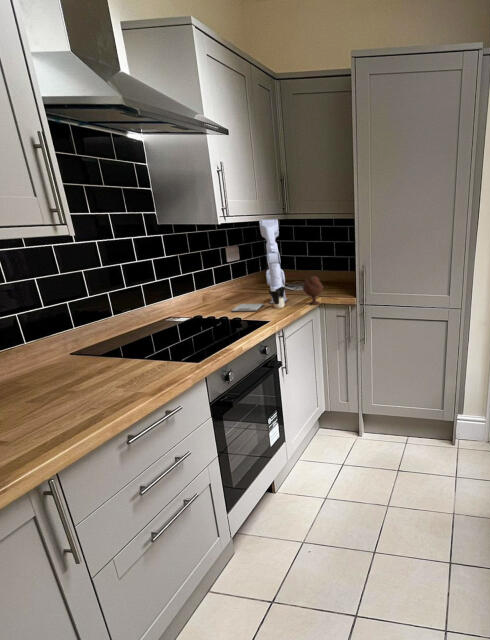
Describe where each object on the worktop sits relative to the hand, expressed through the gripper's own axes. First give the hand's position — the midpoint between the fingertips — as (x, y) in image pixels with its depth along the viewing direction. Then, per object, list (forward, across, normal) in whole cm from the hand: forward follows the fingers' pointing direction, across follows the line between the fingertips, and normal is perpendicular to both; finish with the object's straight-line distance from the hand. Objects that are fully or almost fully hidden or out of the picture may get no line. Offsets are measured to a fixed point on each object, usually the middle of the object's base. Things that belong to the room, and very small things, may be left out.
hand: (278, 302), depth 233 cm
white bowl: (+2, 0, 0) cm, 2 cm away
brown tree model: (+3, +7, -18) cm, 19 cm away
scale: (+2, -4, +16) cm, 16 cm away
